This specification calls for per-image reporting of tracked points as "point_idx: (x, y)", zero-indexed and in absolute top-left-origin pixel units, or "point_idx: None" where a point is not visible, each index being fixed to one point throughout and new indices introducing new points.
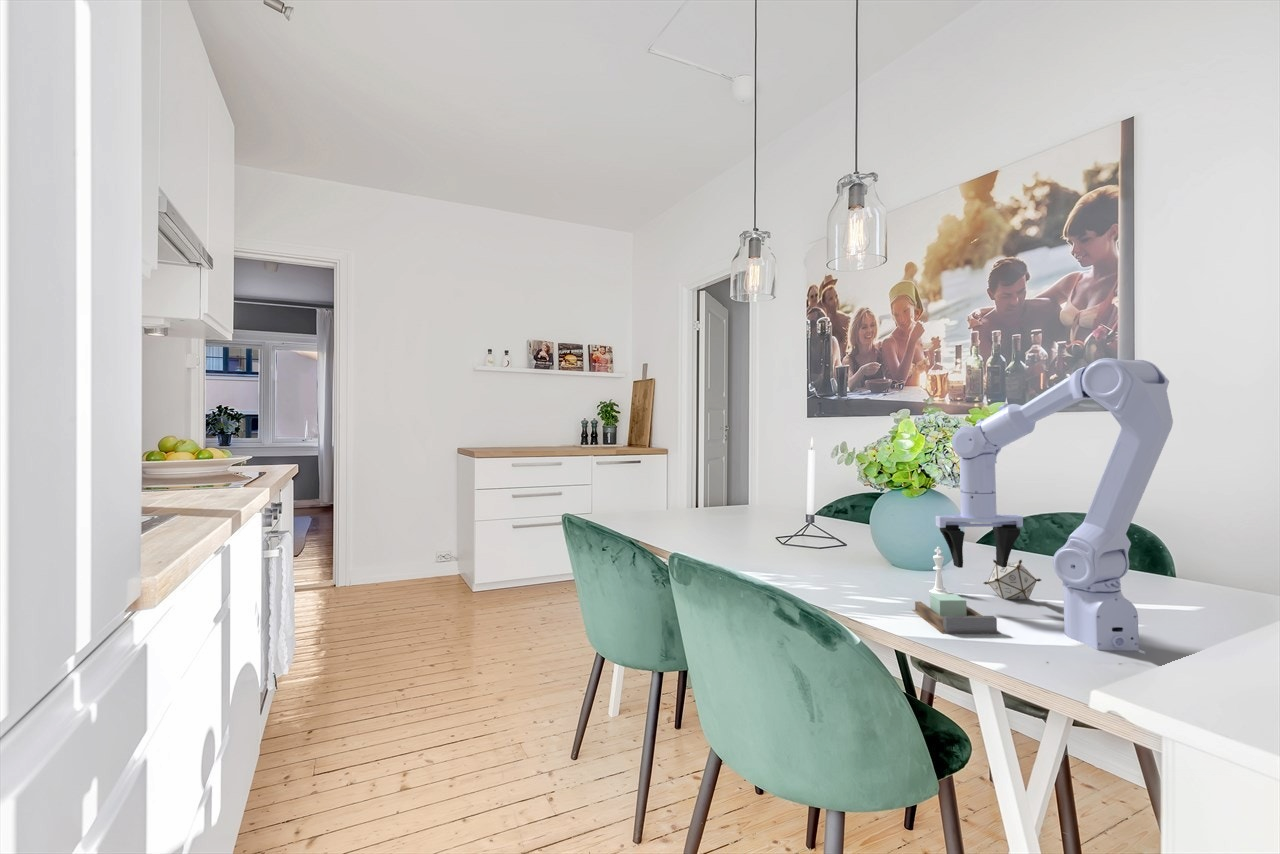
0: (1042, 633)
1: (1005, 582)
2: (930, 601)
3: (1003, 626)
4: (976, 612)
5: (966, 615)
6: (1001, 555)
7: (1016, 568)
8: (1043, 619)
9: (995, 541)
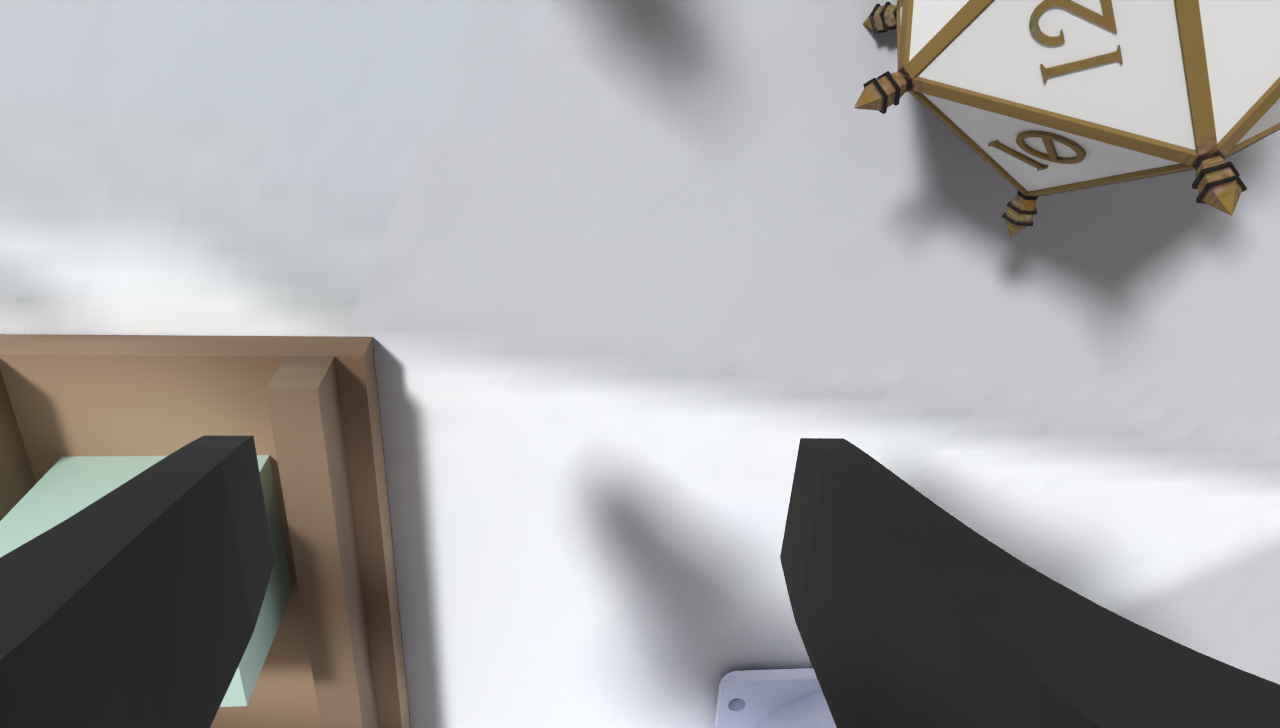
0: (696, 642)
1: (955, 117)
2: (4, 521)
3: (544, 547)
4: (344, 640)
5: (280, 618)
6: (833, 637)
7: (1183, 156)
8: (888, 420)
9: (965, 615)
